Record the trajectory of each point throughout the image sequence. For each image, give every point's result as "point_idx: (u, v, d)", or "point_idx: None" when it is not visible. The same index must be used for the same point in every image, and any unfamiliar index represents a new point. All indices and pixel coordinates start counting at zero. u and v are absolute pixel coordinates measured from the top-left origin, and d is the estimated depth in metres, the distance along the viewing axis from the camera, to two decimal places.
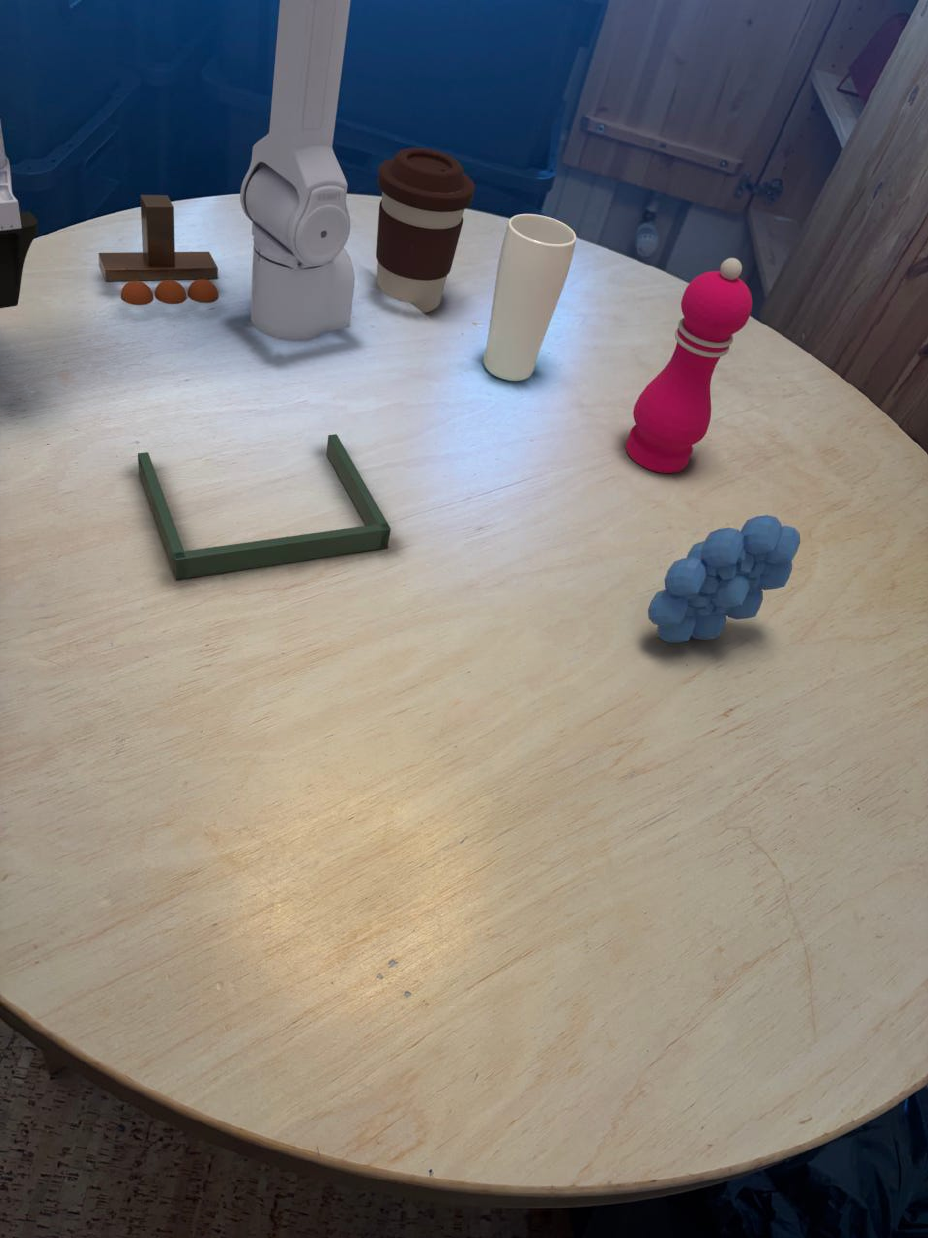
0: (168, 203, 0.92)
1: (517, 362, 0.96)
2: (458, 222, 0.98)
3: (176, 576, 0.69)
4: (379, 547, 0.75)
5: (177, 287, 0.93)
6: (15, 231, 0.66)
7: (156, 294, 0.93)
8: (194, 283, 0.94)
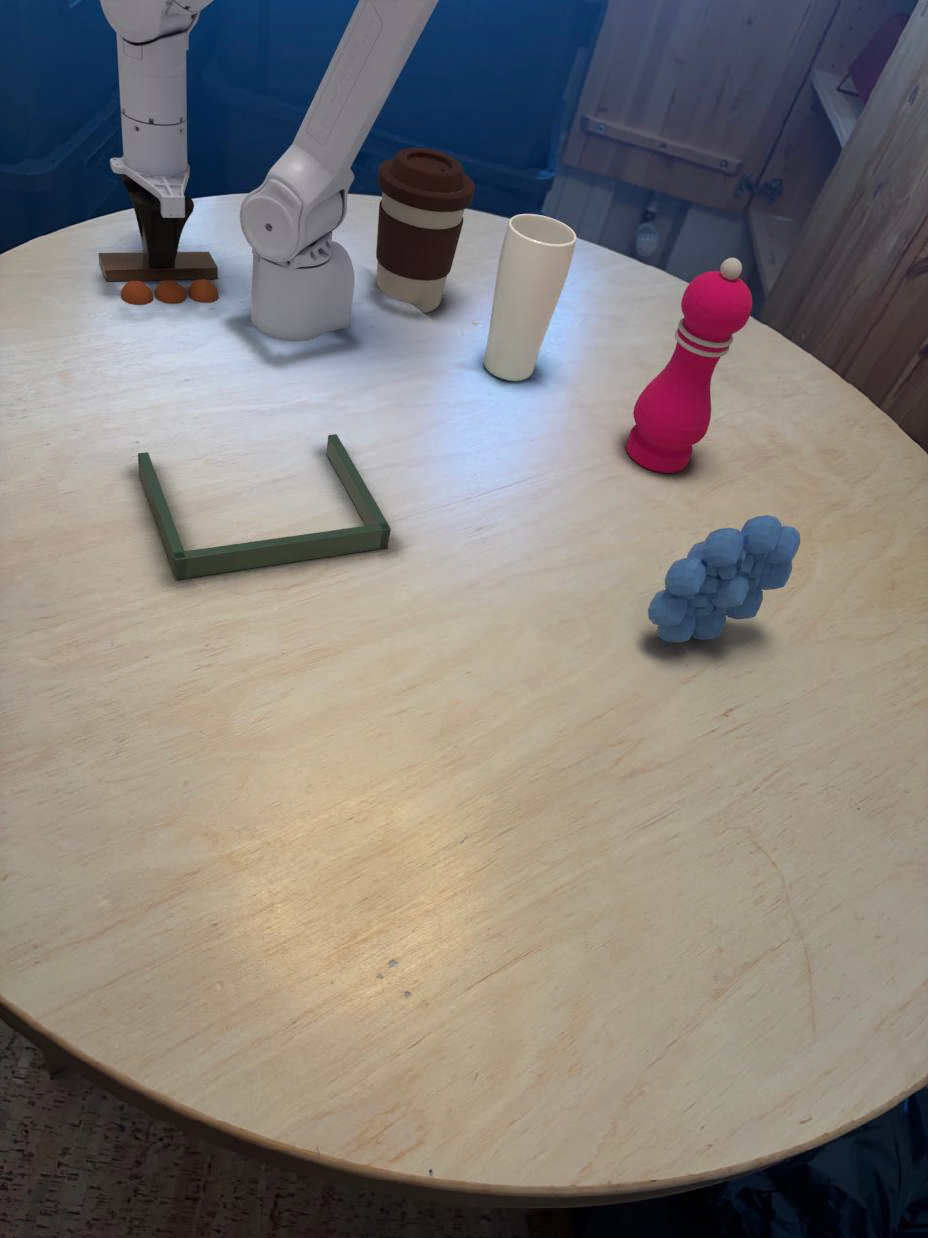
0: None
1: (517, 362, 0.96)
2: (458, 222, 0.98)
3: (176, 576, 0.69)
4: (379, 547, 0.75)
5: (177, 287, 0.93)
6: None
7: (156, 294, 0.93)
8: (194, 283, 0.94)
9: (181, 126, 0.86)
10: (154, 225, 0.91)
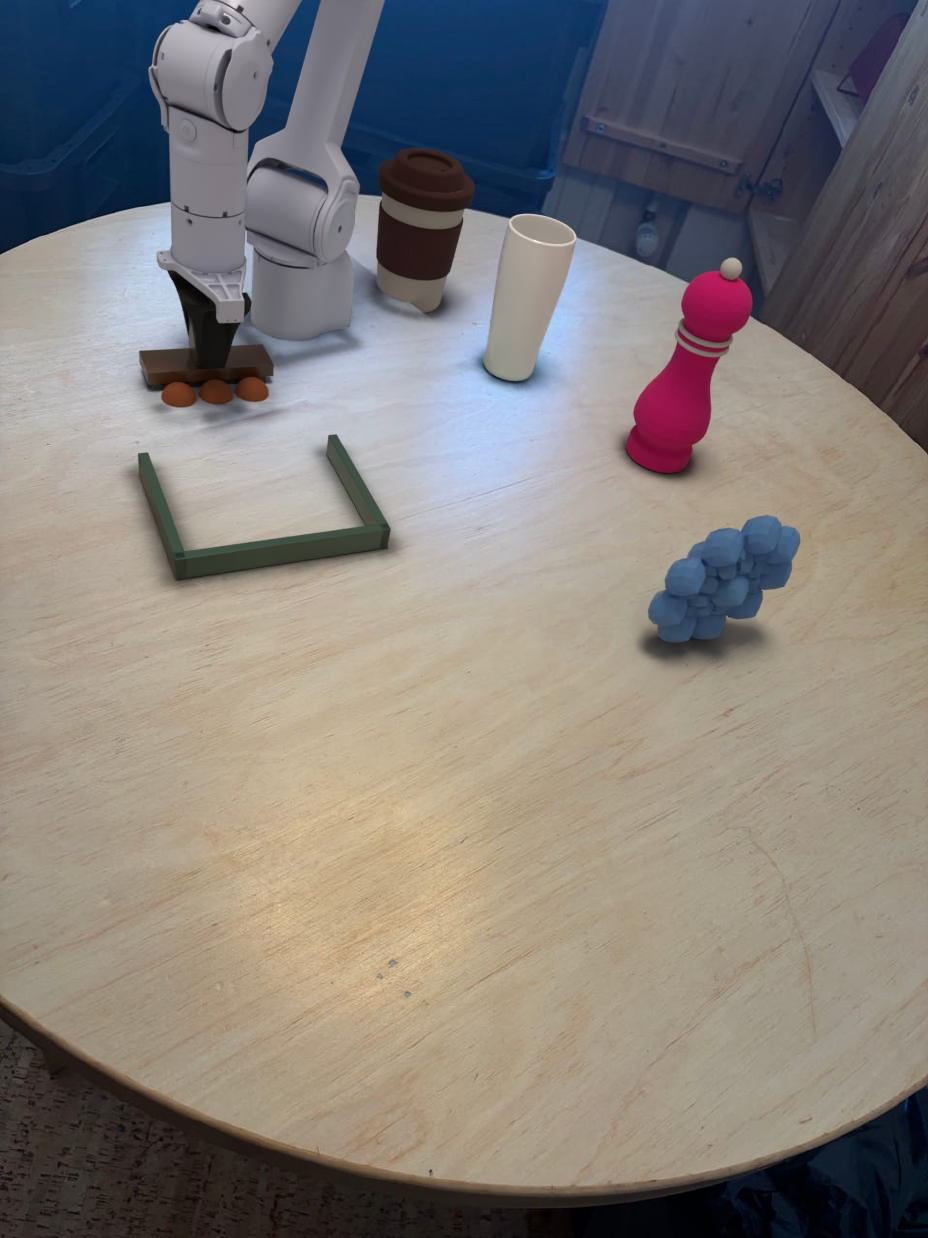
0: None
1: (517, 362, 0.96)
2: (458, 222, 0.98)
3: (176, 576, 0.69)
4: (379, 547, 0.75)
5: (225, 395, 0.83)
6: None
7: (201, 399, 0.83)
8: (244, 387, 0.83)
9: (240, 217, 0.74)
10: (205, 325, 0.79)
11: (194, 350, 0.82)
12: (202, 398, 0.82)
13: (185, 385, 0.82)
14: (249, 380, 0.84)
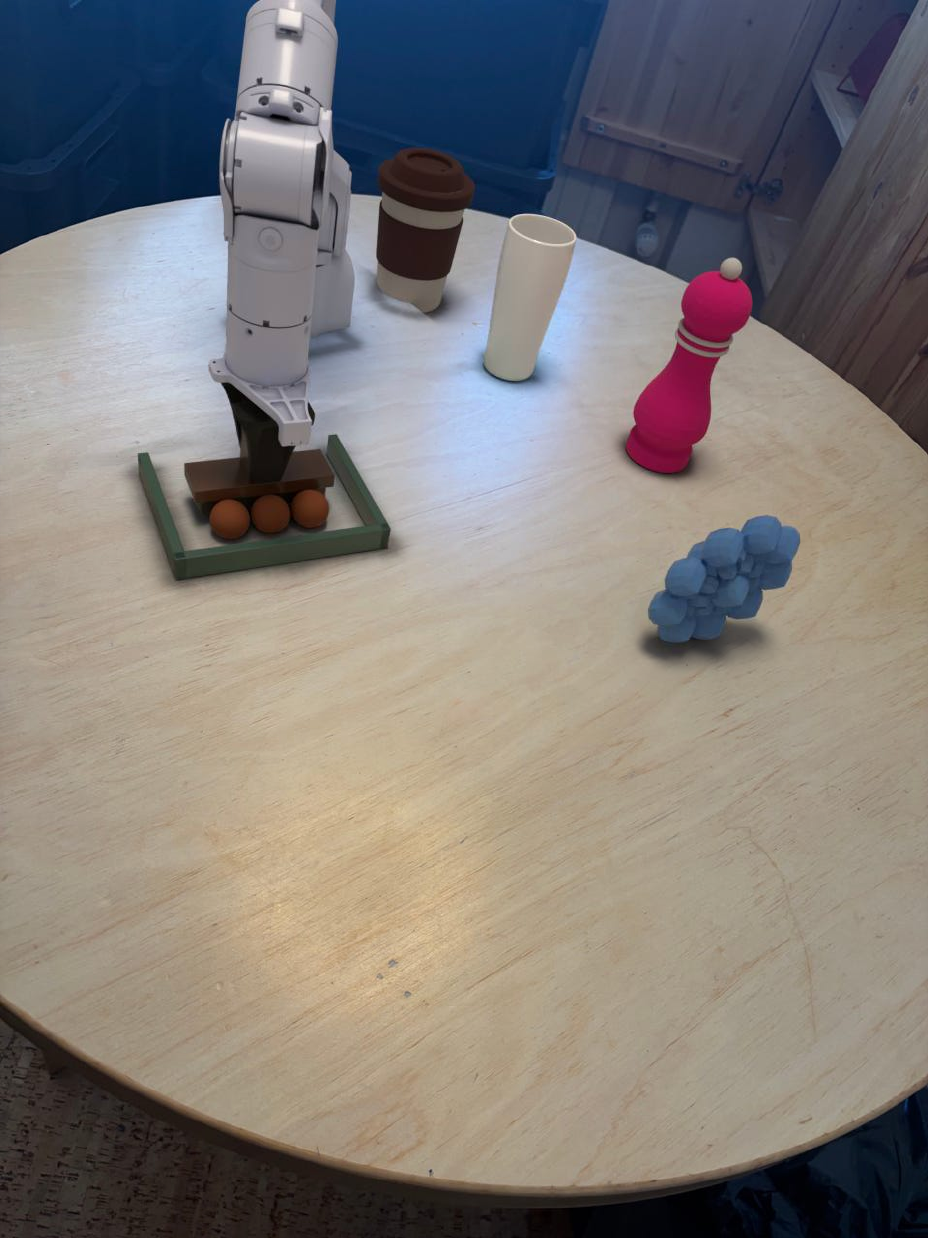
0: None
1: (517, 362, 0.96)
2: (458, 222, 0.98)
3: (176, 576, 0.69)
4: (379, 547, 0.75)
5: (282, 514, 0.73)
6: None
7: (254, 518, 0.73)
8: (302, 503, 0.74)
9: (306, 324, 0.65)
10: (262, 439, 0.70)
11: (247, 463, 0.72)
12: (256, 517, 0.73)
13: (237, 504, 0.72)
14: (308, 495, 0.74)
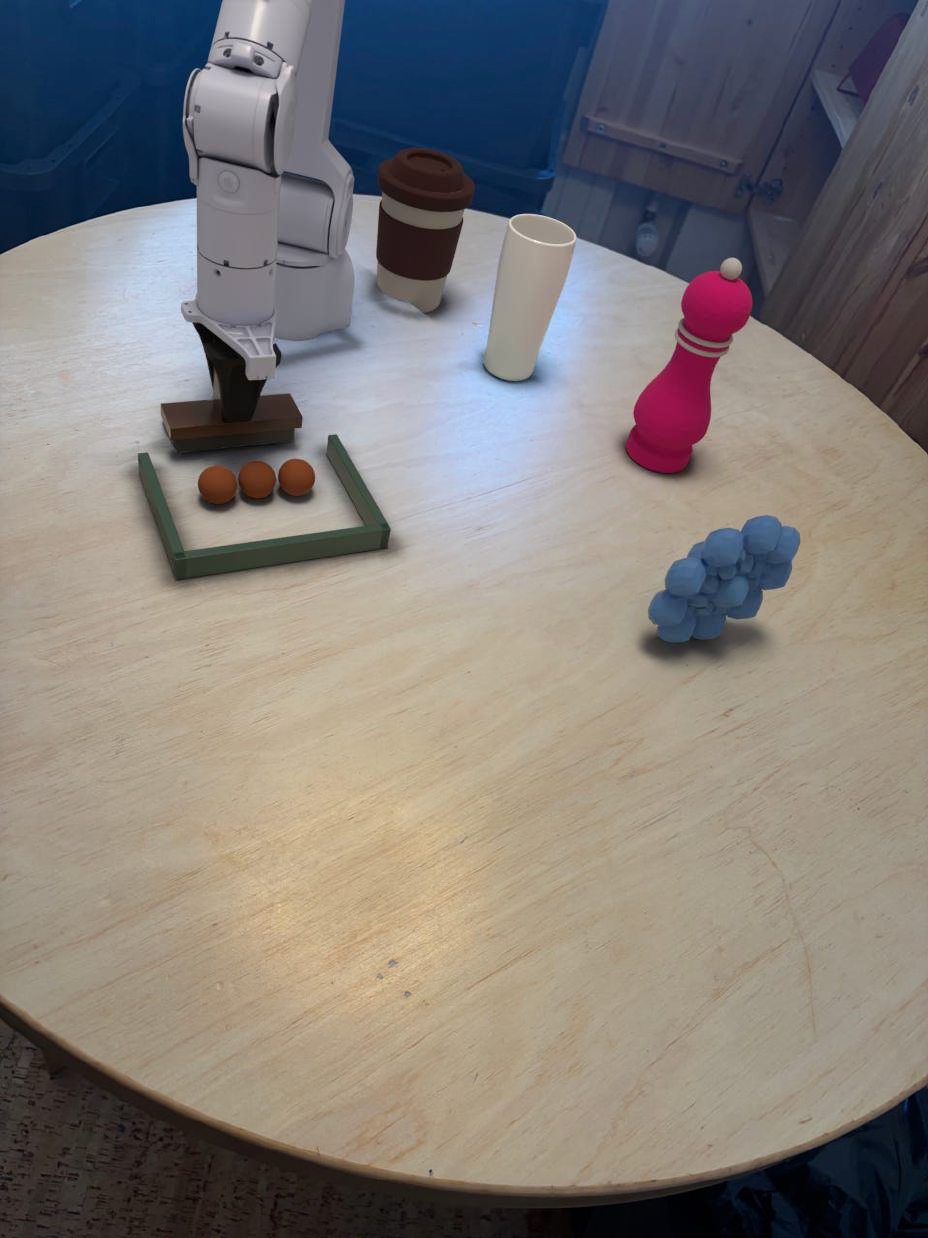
0: None
1: (517, 362, 0.96)
2: (458, 222, 0.98)
3: (176, 576, 0.69)
4: (379, 547, 0.75)
5: None
6: None
7: (238, 476, 0.76)
8: None
9: (271, 267, 0.69)
10: (232, 378, 0.75)
11: (219, 403, 0.77)
12: None
13: None
14: None
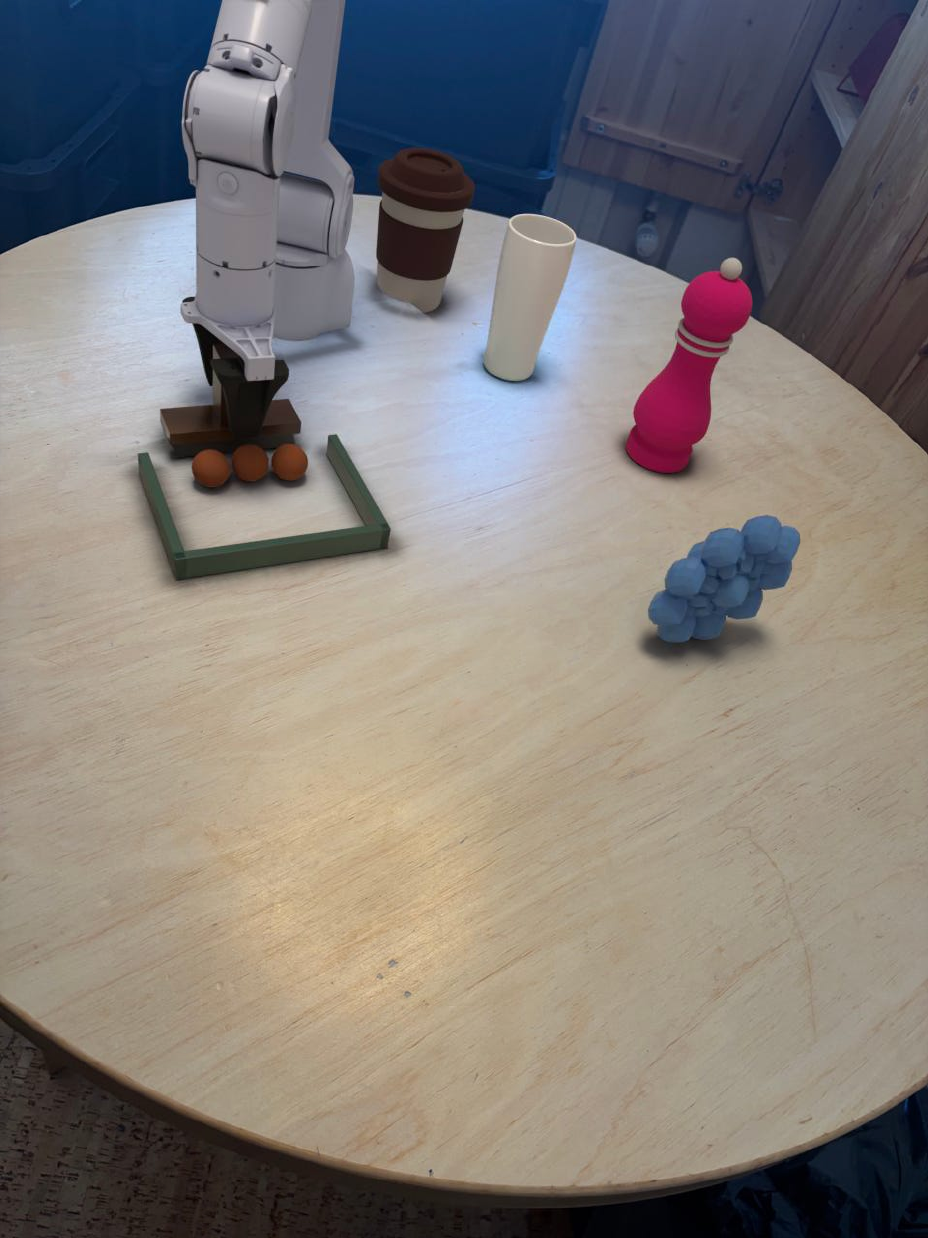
0: None
1: (517, 362, 0.96)
2: (458, 222, 0.98)
3: (176, 576, 0.69)
4: (379, 547, 0.75)
5: None
6: (268, 379, 0.72)
7: (232, 468, 0.77)
8: (279, 476, 0.79)
9: (270, 268, 0.70)
10: (239, 395, 0.74)
11: (218, 409, 0.78)
12: (233, 470, 0.78)
13: (221, 484, 0.76)
14: (288, 479, 0.79)
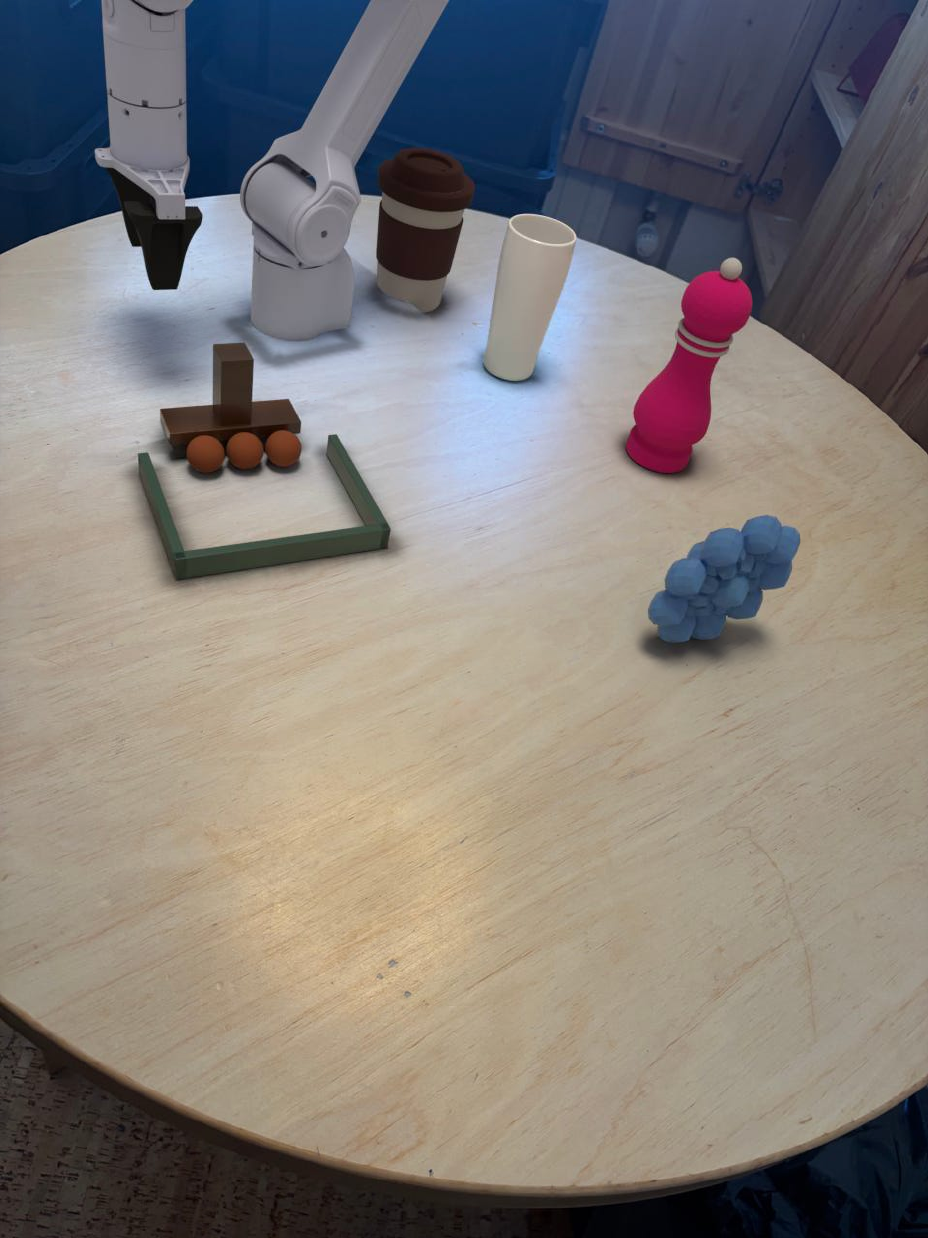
0: (247, 355, 0.76)
1: (517, 362, 0.96)
2: (458, 222, 0.98)
3: (176, 576, 0.69)
4: (379, 547, 0.75)
5: (255, 463, 0.78)
6: (180, 222, 0.74)
7: (229, 457, 0.78)
8: (277, 457, 0.79)
9: (180, 109, 0.72)
10: (154, 241, 0.75)
11: (218, 409, 0.78)
12: (230, 459, 0.78)
13: (215, 453, 0.76)
14: (284, 452, 0.79)
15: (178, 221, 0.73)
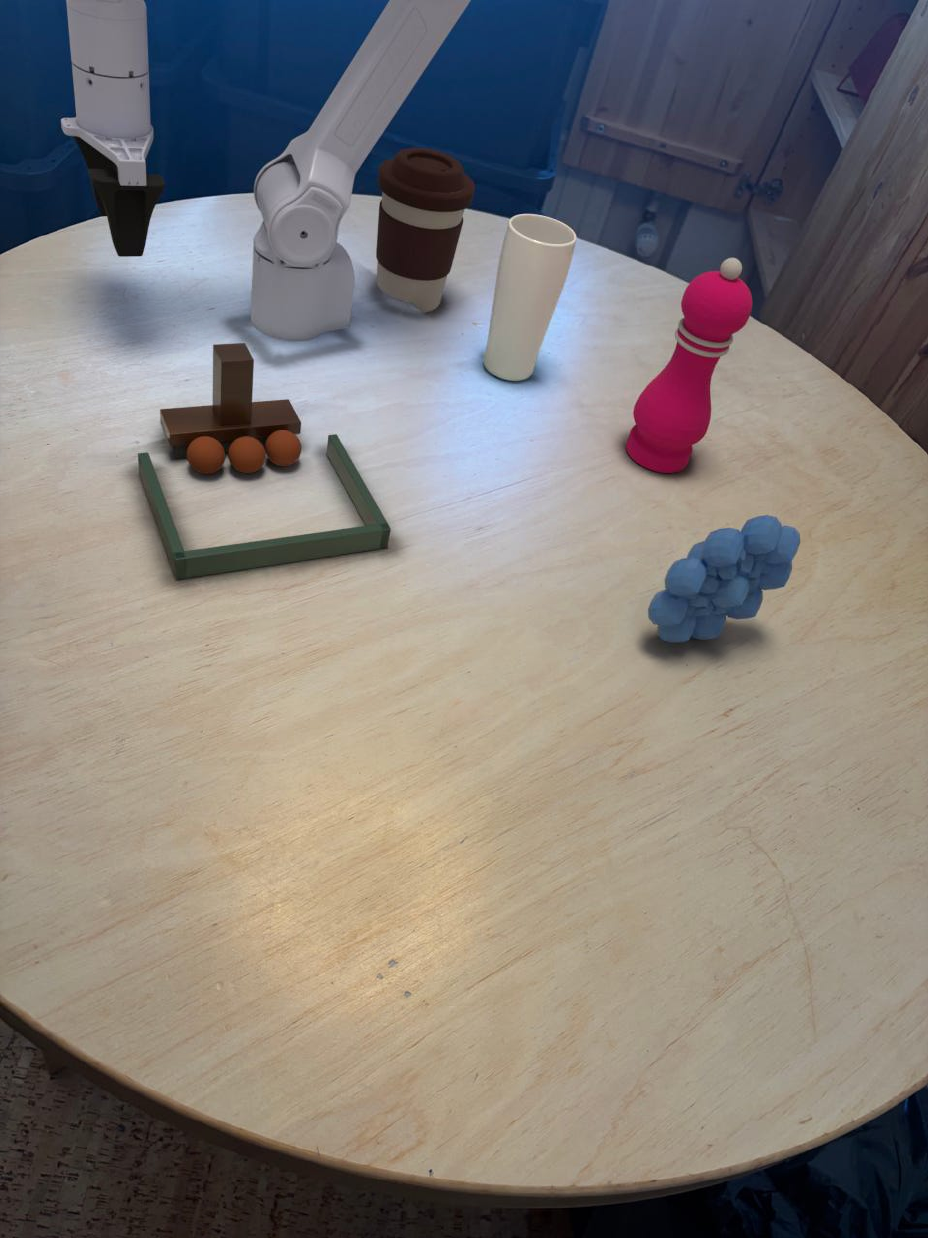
0: (247, 355, 0.76)
1: (517, 362, 0.96)
2: (458, 222, 0.98)
3: (176, 576, 0.69)
4: (379, 547, 0.75)
5: (256, 470, 0.78)
6: (142, 188, 0.76)
7: (230, 461, 0.78)
8: (277, 456, 0.79)
9: (142, 80, 0.74)
10: (118, 208, 0.78)
11: (218, 409, 0.78)
12: (232, 464, 0.78)
13: (216, 455, 0.76)
14: (284, 451, 0.79)
15: (140, 188, 0.76)
